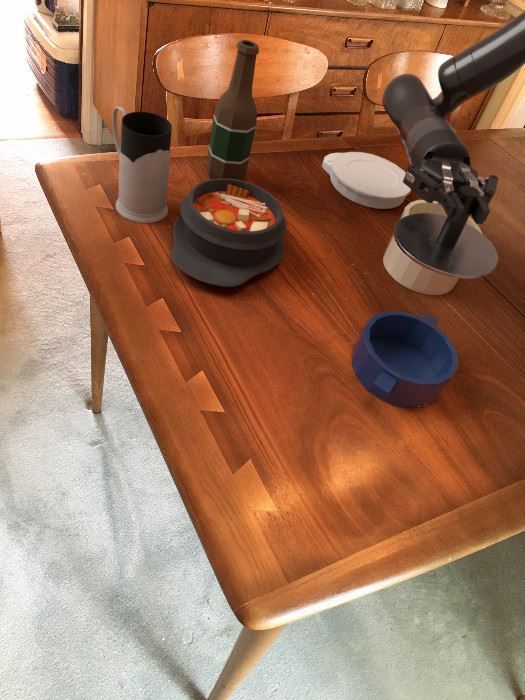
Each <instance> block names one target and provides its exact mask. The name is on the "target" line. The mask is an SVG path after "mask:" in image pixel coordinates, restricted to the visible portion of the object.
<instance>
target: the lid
mask: <svg viewBox="0 0 525 700" xmlns="http://www.w3.org/2000/svg"><path fill="white" fill-rule="evenodd" d="M321 168H322V170H323V171H325V173H327V175H329V176H330V177H329V178H330V182H331V184H332V185H333V187H334V189H335V190H336V191H337V192H338V193H339V194H341V195H342V197H344V198H346V199H347V200H350V201H351V202H353V203H356V204H358V205H361V206H363V207H367V208H373V209H378V210H391V209H393V208H398V207H399V206H400V205H401V204H403V203H404V202H405V200H406V197H407V196H409V195H410V194H411V191H412V190H411V189H410V188H409V187H408V186H407V185H405V184H404V183H403V179H404V177H405V174H406V171H405V170H404V169H402V168H401V167H399V165H397V164H395V163H394V162H392V161H390V160H388V159H386V158H384V157H381V156H378V155H376V154H373V153H372V154H371V153H368V152H363V151H348V152H347V151H346V152H333V153H329V154H327V155H325V156H324V158H323V161H322V164H321Z"/></svg>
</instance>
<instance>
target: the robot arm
mask: <svg viewBox="0 0 525 700" xmlns="http://www.w3.org/2000/svg"><path fill="white" fill-rule="evenodd" d="M524 65H525V10H524V11H523V12H521V13H520V14H518V15H517V16H515V18H513V19H511V20H510V21H508V22H507V23H506V24H504V25H503V26H501V27H500V28H498V29H497V30H495V31H493V32H492V33H490V34H489V35H487V36H485V37H484V38H482V39H480V40H479V41H477V42H475V43H473V44H472V45H470V46H468V47H466V48H465V49H463V50H461V51H459V52H458V53H457V54H455V55H453V56H452V57H450V58H448V59H446V60H445V61H444V62H443V63H441V65H440V66H439V67H438V70H437V78H438V79H437V80H438V83H439V87H440V90H441V91H440V92H439V94H438V95H437V96H436V97H434V98H432V95H430V92H429V91H428V89H427V87H426V86H425V84H424V82H423V81H422V79H421V78H420V77H419V76H418V75H416V74H413V73H403V74H399V75H397V76H395V77H393V78H392V79H391V80H390V81H389V82H388V83H387V84H386V86H385V88H384V90H383V93H382V96H381V97H382V98H381V103H382V107H383V109H384V111H385V112H386V114H387V116H388V117H389V119H390V120H391V121H392V124H393V125H394V126H395V128H396V130H397V131H398V133H399V136H400V139H401V142H402V144H403V146H404V148H405V151H406V155H407V159H408V161H409V163H410V164H408V166H407V169H406V171H405V173H406V174H405V177H404V179H403V183H404V184H405V185H407V186H408V187H409V188H410V189H411V191H412V192H413V193H415V194H416V195H417V196H418V197H419V198H421V200H424V201H426V202H428V203H433V201H437V202H438V204H439V205H440V206H441V207H443V208H444V210H445V212H446V214H447V215H448V216H449V217H450V218H451V220H452V221H456V222H458V221H459V220H460V218H461V216H462V213H463V211H464V206H463V204H462V202H461V200H460V198H459V197H458V195H457V194H458V191H459V189H460V187H461V186H471V187H474V188H476V189H477V190H478V191H479V192H480V195H479V197H478V200H477V202H476V204H475V206H474V208H473V210H472V212H471V214H470V217H471V219H473V220H474V222H475V223H476V224H477V225H483V224H484V222H486V221H487V218H488V216H489V214H490V213H491V209H490V207H489V205H490V203H491V201H492V199H493V197H494V196H495V194H496V189H497V187H498V182H499V177H498V175H496V174H490V175H489V177H488V176H485V177H482V176H479V172H478V171H477V170H476V169H475V168H473V167H472V164H471V163H472V162H471V155H470V153H469V149H467V147H466V145H465V144H464V142H463V141H462V139H461V138H460V135H458V132H457V131H456V130H455V128H454V127H453V126H452V125H451V124H450V123H449V122H448V120H447V119H446V118H447V117H448V116H450V115H451V114H452V113H453V112H455V111H456V110H457V109H458V108H459V107H460V106H462V105H463V104H464V103H465V102H468V101H470V100H471V99H473V98H474V97H476V96H478V95H481V94H482V93H484V92H486V91H488V90H490V89H492V88H493V87H495V86H497V85H499V84H500V83H502V82H504V81H505V80H507V79H508V78H510V77H511V76H512V75H513V74H514V73H516V72H517V71H518V70H520V68H522V67H523V66H524ZM426 189H427V191H426Z"/></svg>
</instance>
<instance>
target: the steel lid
mask: <svg viewBox="0 0 525 700" xmlns="http://www.w3.org/2000/svg"><path fill="white" fill-rule="evenodd" d="M457 195H458V197H459V198H460V200H461V202H462V204H463V206H464V211H463V213H462V216H461V218H460V220H459V221H458V222H456V221H452V220H451V218H450V217H449V216H443V215H438V214H430V213H418V214H412V215H408V216H405V217H403V218H402V219H400V218H399V220H398V221H397V222H396V223H395V226H394V229H393V233H394V239H395V242H396V244H397V245H398V247H399V248H400V250H401V251H402V252H403V253H404V254H405V255H406V256H407V257H409V258H410V259H411V260H413V261H414V262H416V263H417V264H419V265H420V266H422V267H424V268H426V269H428V270H431V271H433V272H436V273H439V274H442V275H445V276H449V277H455V278H459V279H467V280H469V279H477V278H478V279H479V278H482V277H485V276H488V275H489V274H491V273H492V272H493V271H494V270H495V269H496V267H497V264H498V262H499V254H498V251H497V249H496V247H495V245H494V244H493V243H492V241H491V240H490V239H489V238H488V237H487V236H486V235H485V234H483V232H482V233H480V232H479V231H478V230H476V229H475V228H473V227H471V226H469V225H468V224H466V222H467V220H468V218H469V217H471V212H472V210H473V208H474V206H475V204H476V202H477V200H478V197H479V195H480V192H479V191H478V190H477V189H476V188H474V187H471V186H461V187H460V189H459V191H458V194H457Z"/></svg>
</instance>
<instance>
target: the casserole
mask: <svg viewBox="0 0 525 700" xmlns="http://www.w3.org/2000/svg"><path fill="white" fill-rule="evenodd" d="M286 231H287V222H286V218H285V216H284V211H283V207H282V205H281V204H280V202H279V200H277V199H276V197H274V195H272V194H271V193H270V192H269V191H267V190H266V189H264V188H262V187H260V186H258V185H256V184H254V183H250V182H248V181H244V180H241V181H240V180H236V179H212V178H210V179H207V180H204V181H201V182H199V183H197V184H196V185H195V186H193V187H192V188H191V190H190V191H189V193H187V195H185V197H184V198H183V199H182V201H181V204H180V216H178V217H177V219H176V220H175V222H174V223H173V226H172V237H173V238H172V240H173V245H172V248H171V254H170V259H171V261H172V264H173V265H174V266H175V267H177V269H178V270H180V271H181V272H183V273H184V274H185V275H187V276H189V277H191V278H193V279H195V280H197V281H200V282H203V283H205V284H209V285H211V286H212V285H213V286H218V287H225V288H233V287H239V286H241V285H243V284H245V283H246V282H248V281H249V280H251V279H253V278H254V277H255V276H257V275H261V274H262V273H265V272H268V271H269V270H272V269H273V268H275V267H276V266H278V265H279V264H280V263H281V261H282V259H283V258H284V255H285V252H286V245H285V242H284V238H283V237H285V234H286Z"/></svg>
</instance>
